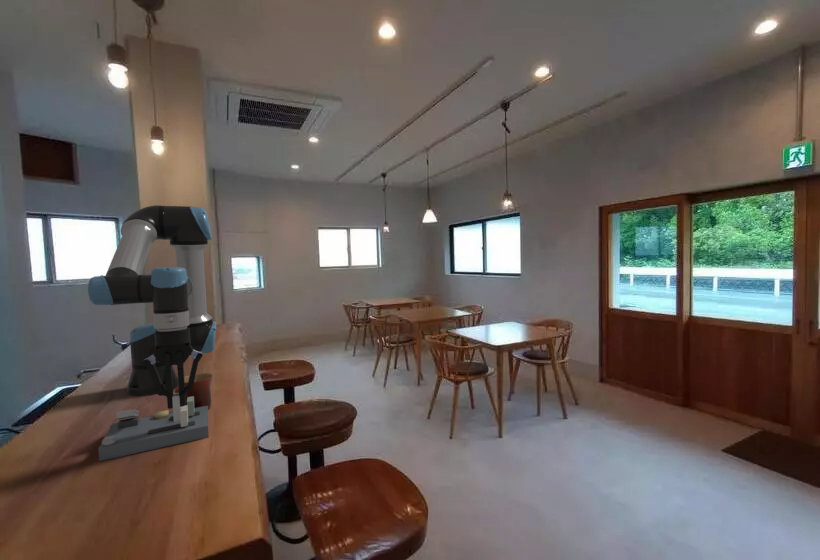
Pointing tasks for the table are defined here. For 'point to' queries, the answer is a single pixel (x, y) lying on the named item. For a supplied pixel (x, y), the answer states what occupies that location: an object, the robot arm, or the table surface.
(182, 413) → the pale grey cuboid
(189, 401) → the grey block
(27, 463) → the table surface
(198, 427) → the console
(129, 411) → the block
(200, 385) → the mug
